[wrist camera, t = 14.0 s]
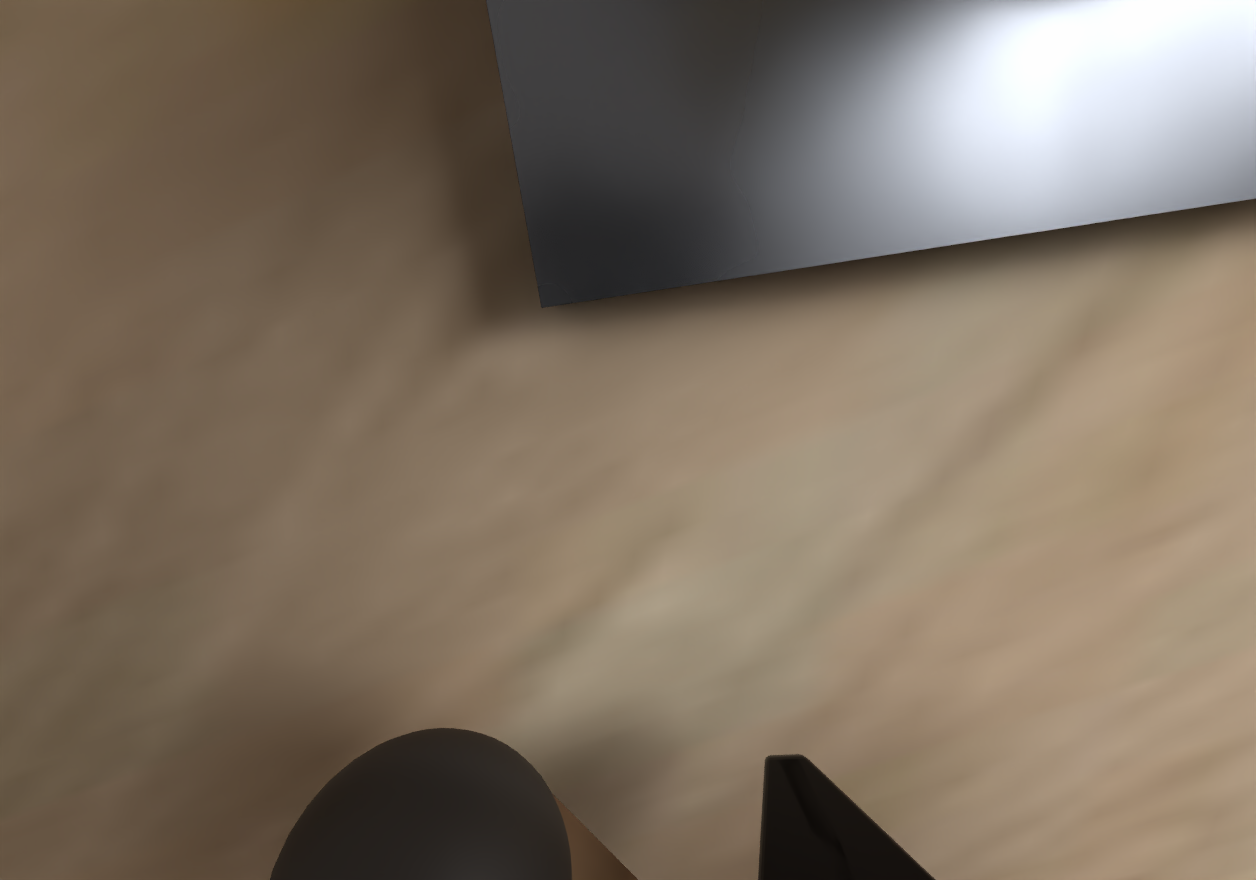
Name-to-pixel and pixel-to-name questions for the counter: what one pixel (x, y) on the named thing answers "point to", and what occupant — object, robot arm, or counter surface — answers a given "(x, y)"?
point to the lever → (442, 819)
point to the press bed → (857, 127)
